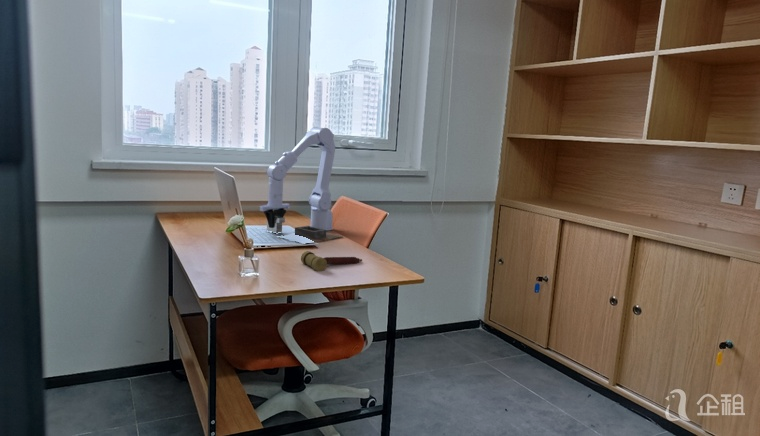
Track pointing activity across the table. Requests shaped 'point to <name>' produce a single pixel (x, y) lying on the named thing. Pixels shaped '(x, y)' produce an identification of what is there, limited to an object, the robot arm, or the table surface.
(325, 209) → the robot arm
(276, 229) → the steel bracket
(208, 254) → the table surface
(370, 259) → the table surface
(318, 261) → the gavel
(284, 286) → the table surface
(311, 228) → the slot board
